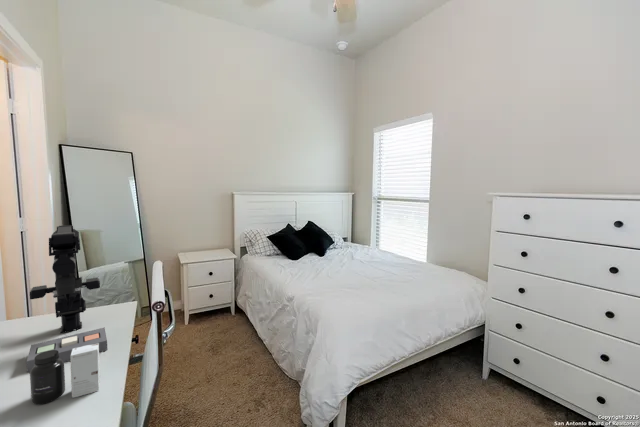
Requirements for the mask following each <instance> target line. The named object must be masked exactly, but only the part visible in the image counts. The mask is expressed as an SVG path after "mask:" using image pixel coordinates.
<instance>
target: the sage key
mask: <svg viewBox="0 0 640 427" xmlns="http://www.w3.org/2000/svg"><path fill="white" fill-rule="evenodd" d="M54 349H55V345H54V344H52V345H48V346H44V347H40V348H38V351H37V354H38V353H42V352H45V351H49V350H54Z"/></svg>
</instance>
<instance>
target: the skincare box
mask: <svg viewBox="0 0 640 427" xmlns="http://www.w3.org/2000/svg"><path fill="white" fill-rule="evenodd" d="M100 371H101V370H100V352H99V343H97V344H92V345H86V346H82V347H78V348H73V349H72V352H71V356H70V382H71V383H70V386H71V387H70V388H71V398H72V399H73V398H77V397H81V396H84V395H85V396H86V395H89V394H91V393H95V392H98V391H99V390H100V383H101V379H100V378H101V375H100V374H101V372H100Z"/></svg>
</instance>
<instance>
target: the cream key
mask: <svg viewBox="0 0 640 427" xmlns="http://www.w3.org/2000/svg"><path fill="white" fill-rule="evenodd" d="M74 344H78V341H77V336H74V337H69V338H65V339H62V347H66V346H70V345H74Z"/></svg>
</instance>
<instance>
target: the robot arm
mask: <svg viewBox="0 0 640 427" xmlns="http://www.w3.org/2000/svg"><path fill="white" fill-rule="evenodd" d="M80 250H81V240H80V232H79V231H78V230H76V229H75V228H74V225H71V224H67V225H59V226H56V230H55V231H54V232H53V233H52V234H51V236H50V237H48V256H49V257H53V256H54V257H53V263H52V266H51V268H52V271H53V273H54V275H55V282H54V286H49V287H48V286H47V285H46V284H45V285H37V286H33V287H32V288H31V289H30V291H29V300H36V299H37V300H38V299H42V298H44V297H45V296H46V294H53V295H52V297H53V299H54V298H55V299H56V301H55V302H54V309H55V310H54V311H55V317H56V318H60V319H61V321H60V322H61V326H60V331H59V333H60V334H62V333H68V332H72V331H75V330H76V331H77V330H80V329H81V330H82V328H83V321H81V313H84V312H85V311H87V306H86V305H87V304H86V300H85V299H84V297H83V296H82V295H81V288H86V289H88V290H89V291H91V290H95V289H100V288H101V282H100V278H99V277H93V278H86V279H85V281H84V282H83V277H81V276H80V277H78V274H77V262H76V254H78V253H79V251H80ZM81 296H82V297H81Z"/></svg>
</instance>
